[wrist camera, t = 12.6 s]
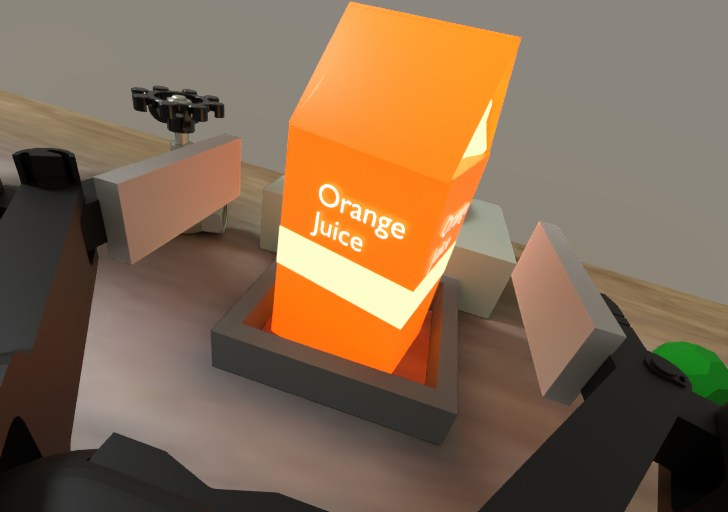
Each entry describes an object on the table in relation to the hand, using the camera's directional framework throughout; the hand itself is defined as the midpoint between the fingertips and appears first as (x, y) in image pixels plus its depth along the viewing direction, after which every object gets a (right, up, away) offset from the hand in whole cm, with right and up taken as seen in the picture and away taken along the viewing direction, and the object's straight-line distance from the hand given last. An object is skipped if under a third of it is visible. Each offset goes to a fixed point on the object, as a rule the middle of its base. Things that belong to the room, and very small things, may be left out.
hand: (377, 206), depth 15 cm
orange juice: (-2, -8, +11) cm, 14 cm away
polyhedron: (+23, -13, +12) cm, 29 cm away
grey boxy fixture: (0, -5, +17) cm, 17 cm away
